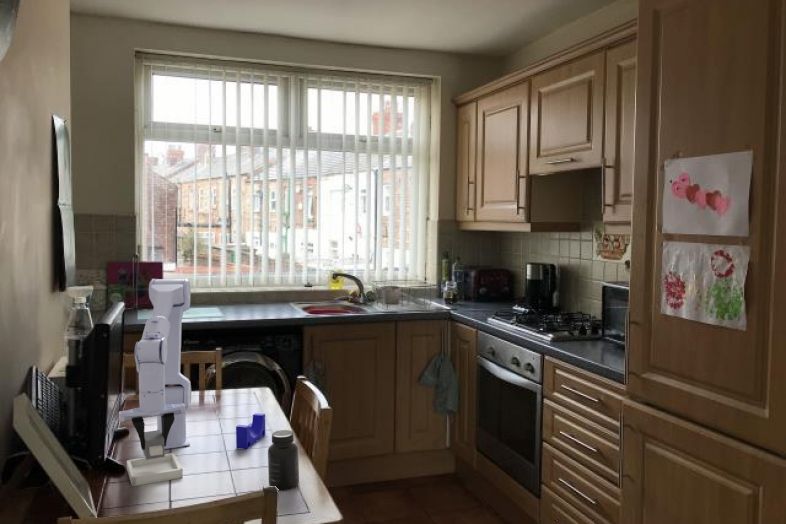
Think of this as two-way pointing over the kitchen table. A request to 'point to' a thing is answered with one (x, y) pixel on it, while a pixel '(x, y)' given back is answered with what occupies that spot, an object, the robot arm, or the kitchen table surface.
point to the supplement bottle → (283, 461)
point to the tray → (154, 469)
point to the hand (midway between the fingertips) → (153, 446)
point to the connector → (154, 444)
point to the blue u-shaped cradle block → (250, 431)
